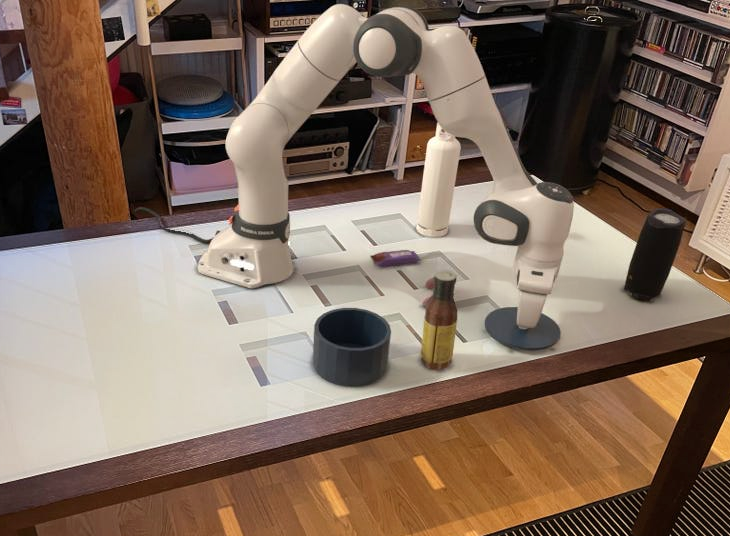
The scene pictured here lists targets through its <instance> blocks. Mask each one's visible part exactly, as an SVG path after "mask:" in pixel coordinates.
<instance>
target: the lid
mask: <svg viewBox="0 0 730 536" xmlns="http://www.w3.org/2000/svg"><path fill="white" fill-rule="evenodd" d="M517 311H518V306H505V307H499V308H497V309H494V310H492V311H491V312H489V313H488V314H487V315H486V317H485V320H484V328H485V331H486V332H487V334H488V335H489V336H490V337H491V338H492V339H493V340H495V341H496V342H498V343H500V344H502V345H504V346H507V347H508V348H509V347H510V348H513V349H517V350H521V351H522V350H523V351H543V350H546V349H549V348H551V347H554V346H555V345H557V343H559V340H560V339H561V334H562V333H561V328H560V327H559V325H558V324H557V322H556V321H555V320H554V319H553V318H551V317H550V316H549V315H547V314H544V313H543V312H541V315H540V318H539V320H538V323H537V325H536V326H535V328H527V329H520V328H519V326H518V325H517Z"/></svg>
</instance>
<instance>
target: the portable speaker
mask: <svg viewBox="0 0 730 536" xmlns="http://www.w3.org/2000/svg"><path fill="white" fill-rule="evenodd" d="M686 225H687V217H684V216H682V215H680V214H678V213H676V212H674V211H673V210H672V209H670V208H666V207H665V208H663V207H662V208H654V209H653V210H652V211H650V212H649V213H648V214H647V216H646V218H645V221H644V223H643V226H642V228H641V230H640V231H639V232H640V233H639V236H638V238H637V242H636V245H635V247H634V250H633V253H632V256H631V259H630V261H629V265H628V270H627V272H626V273H627V274H626V278H625V282H624V288H623V290H624V291H627V292H628V293H629V294H630V295H631V297H632V299H634V300H637V301H639V302H651V301H652V300H654V299H655V298H657V297H659V296H660V295H661V294H662V292H663V290H664V287H665V284H666V283H667V280H668V278H669V275H670V273H671V271H672V269H673V265H674V262H675V259H676V256H677V253H678V250H679V249H680V245H681V241H682V238H683V234H684V229H685V227H686Z"/></svg>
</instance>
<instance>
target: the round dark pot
mask: <svg viewBox="0 0 730 536" xmlns="http://www.w3.org/2000/svg"><path fill="white" fill-rule="evenodd" d="M313 326H314V327H313V345H312V366H313V369H314V371H315V372H316V373H317V375H318V376H319V377H321V378H322V379H324V380H325V381H327V382H329V383H331V384H335V385H338V386H342V387H350V388H351V387H352V388H353V387H355V388H356V387H364V386H368V385H371V384H374V383H376V382H377V381H379V380H380V379H382V378H383V376H384V375H385V374H386V371H387V367H388V363H389V354H390V346H391V337H392V330H391V325H390V323H389V322H388V321H387V320H386V318H384V317H382V316H381V315H380V314H378V313H376V312H374V311H371V310H368V309H364V308H359V307H340V308H335V309H331V310H328V311H326V312H324V313H322V314H320V315H319V317H317V319H316V320H315V323H314V325H313Z"/></svg>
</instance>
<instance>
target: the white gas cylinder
mask: <svg viewBox="0 0 730 536" xmlns="http://www.w3.org/2000/svg"><path fill="white" fill-rule="evenodd" d="M442 130H443V129H442V128H441V126H440V125H439V123H438V122H436V130H435V136H433V137H432V138H431V137H430V139H429V140H428V142H427V143H426V151H425V159H424V167H423V175H422V181H421V190H420V197H419V204H418V211H417V212H418V213H417V221H416V227H415V228H416V229H415V230H416V231H417V232H418V233H419V234H420V235H422V236H425V237H429V238H441V237H444V236H445V235H447V233H448V231H449V224H450V220H451V219H450V217H451V211H452V206H453V199H454V192H455V187H456V186H455V185H456V180H457V175H458V174H457V173H458V167H459V161H460V154H461V148H462V147H461V143H460V141H459V140H458V139H457V138H456V136H453V135H450V134H448V133H447V132H445V131H442Z"/></svg>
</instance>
